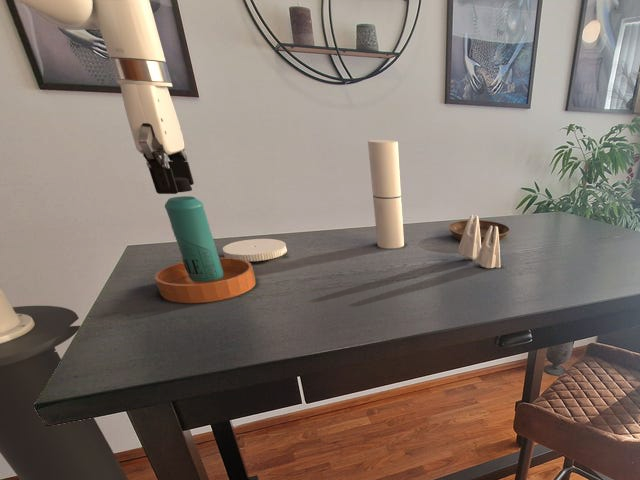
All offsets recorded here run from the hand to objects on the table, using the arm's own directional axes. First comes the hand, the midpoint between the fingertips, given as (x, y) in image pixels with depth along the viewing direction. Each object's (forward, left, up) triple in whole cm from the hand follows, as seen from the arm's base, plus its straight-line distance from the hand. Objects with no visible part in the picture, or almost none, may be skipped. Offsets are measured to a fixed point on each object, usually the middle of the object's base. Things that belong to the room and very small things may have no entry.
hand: (176, 188), depth 80 cm
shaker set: (+59, +7, -19) cm, 63 cm away
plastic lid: (+6, +20, -19) cm, 28 cm away
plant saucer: (+65, +30, -19) cm, 74 cm away
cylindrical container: (+39, +26, -19) cm, 51 cm away
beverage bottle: (0, 0, -18) cm, 18 cm away
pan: (0, 0, -19) cm, 19 cm away
